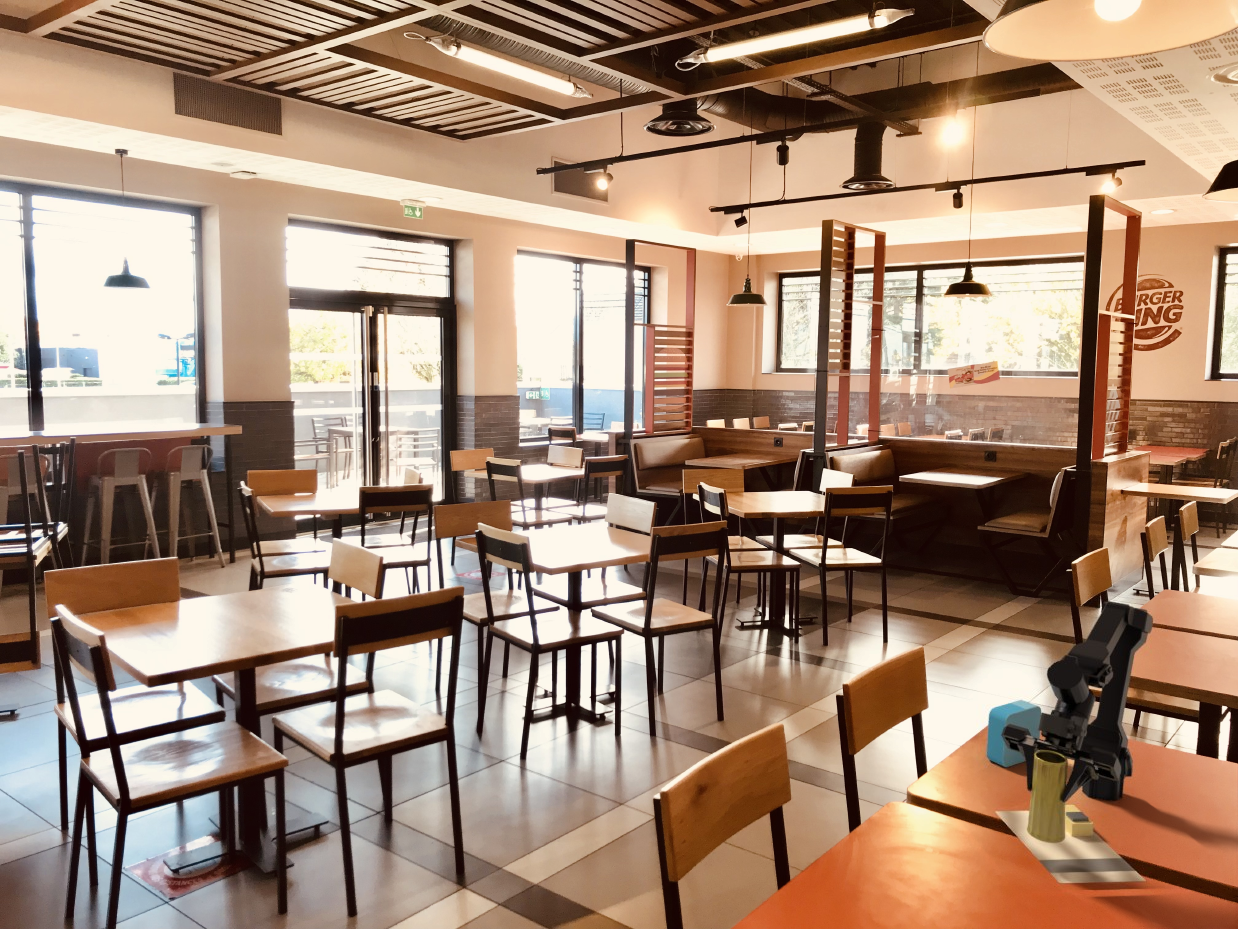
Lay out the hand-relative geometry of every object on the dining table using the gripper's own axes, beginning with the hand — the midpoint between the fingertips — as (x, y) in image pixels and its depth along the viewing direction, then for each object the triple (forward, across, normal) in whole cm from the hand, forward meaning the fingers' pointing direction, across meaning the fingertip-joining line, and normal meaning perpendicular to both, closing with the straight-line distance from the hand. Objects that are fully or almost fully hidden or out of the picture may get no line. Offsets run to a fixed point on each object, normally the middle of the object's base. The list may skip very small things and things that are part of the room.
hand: (1045, 796), depth 160 cm
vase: (+5, 0, +6) cm, 8 cm away
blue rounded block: (-18, -20, +38) cm, 47 cm away
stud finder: (-3, 0, +21) cm, 21 cm away
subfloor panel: (+3, +1, +16) cm, 16 cm away
